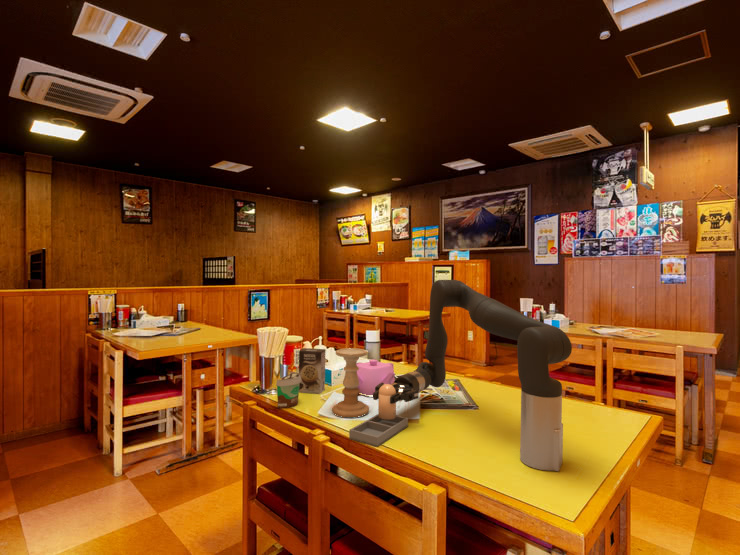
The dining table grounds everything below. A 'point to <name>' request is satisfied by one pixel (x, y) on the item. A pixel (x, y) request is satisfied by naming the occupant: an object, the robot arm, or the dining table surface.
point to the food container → (288, 390)
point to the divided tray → (377, 430)
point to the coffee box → (312, 370)
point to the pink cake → (374, 375)
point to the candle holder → (350, 385)
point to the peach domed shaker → (386, 402)
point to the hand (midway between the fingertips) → (382, 398)
